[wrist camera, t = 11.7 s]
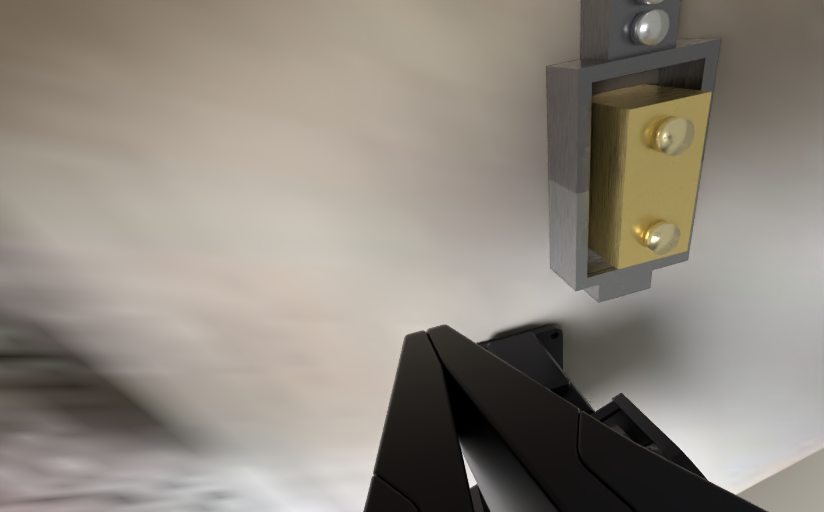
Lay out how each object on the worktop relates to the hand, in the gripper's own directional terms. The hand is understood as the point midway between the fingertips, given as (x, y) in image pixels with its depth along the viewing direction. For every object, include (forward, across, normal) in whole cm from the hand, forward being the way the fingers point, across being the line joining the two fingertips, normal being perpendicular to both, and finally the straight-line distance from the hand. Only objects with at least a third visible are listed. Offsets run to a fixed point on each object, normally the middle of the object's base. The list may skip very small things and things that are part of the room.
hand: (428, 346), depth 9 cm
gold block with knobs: (+12, -12, +2) cm, 17 cm away
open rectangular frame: (+12, -12, +2) cm, 17 cm away
